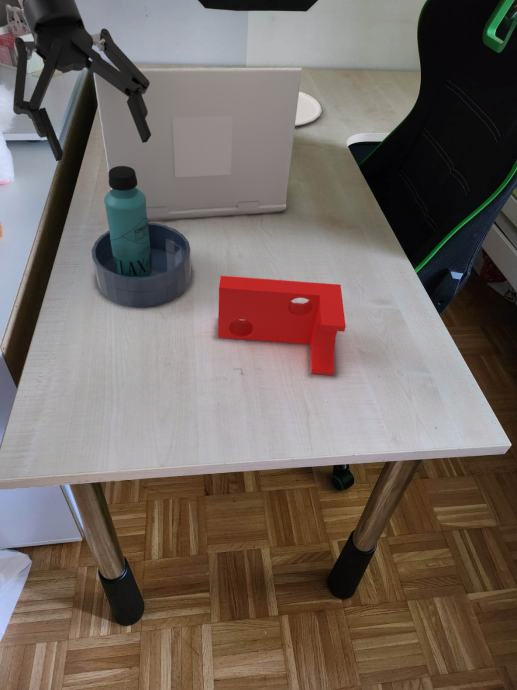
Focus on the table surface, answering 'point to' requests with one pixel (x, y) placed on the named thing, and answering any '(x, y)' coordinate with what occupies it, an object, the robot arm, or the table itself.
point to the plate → (307, 109)
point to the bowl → (165, 277)
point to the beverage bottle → (128, 224)
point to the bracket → (283, 315)
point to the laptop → (206, 139)
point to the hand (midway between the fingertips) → (105, 148)
